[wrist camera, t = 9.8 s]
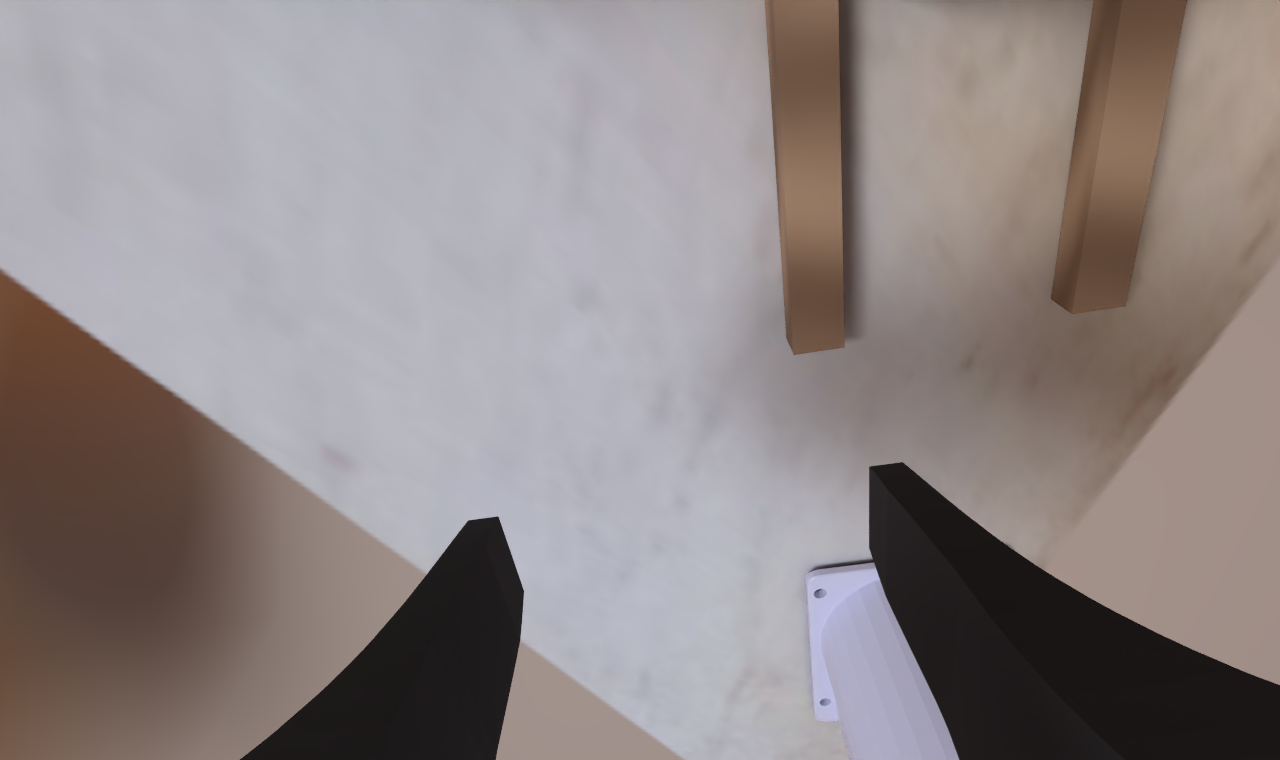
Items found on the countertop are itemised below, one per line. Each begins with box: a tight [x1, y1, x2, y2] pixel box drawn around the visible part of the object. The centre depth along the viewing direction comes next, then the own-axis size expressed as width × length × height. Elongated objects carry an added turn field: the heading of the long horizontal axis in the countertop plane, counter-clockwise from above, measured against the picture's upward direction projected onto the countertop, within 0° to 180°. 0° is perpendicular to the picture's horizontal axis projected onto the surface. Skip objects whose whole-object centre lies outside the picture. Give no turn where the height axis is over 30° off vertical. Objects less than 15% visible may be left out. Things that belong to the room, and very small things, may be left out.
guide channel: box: [765, 0, 1187, 355], centre depth 16 cm, size 17×10×4 cm, turn 9°
